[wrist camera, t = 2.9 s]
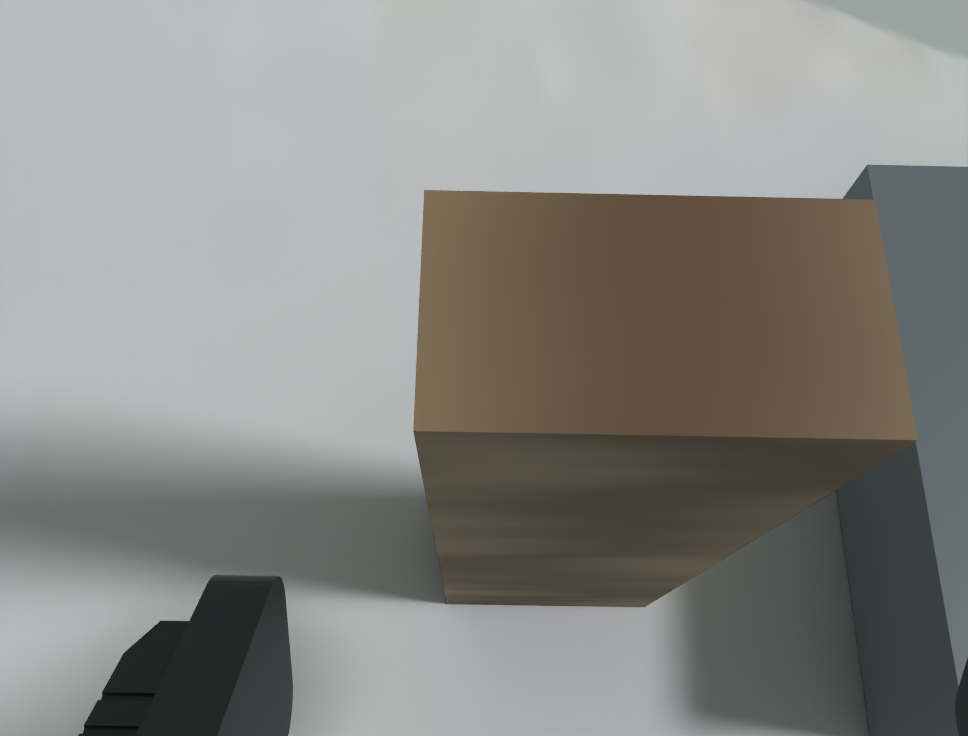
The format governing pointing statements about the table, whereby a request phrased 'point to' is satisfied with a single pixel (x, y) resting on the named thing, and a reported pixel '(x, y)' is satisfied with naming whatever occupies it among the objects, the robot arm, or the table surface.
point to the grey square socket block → (917, 466)
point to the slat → (642, 383)
